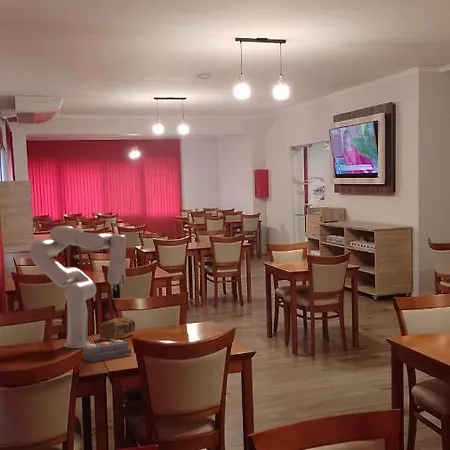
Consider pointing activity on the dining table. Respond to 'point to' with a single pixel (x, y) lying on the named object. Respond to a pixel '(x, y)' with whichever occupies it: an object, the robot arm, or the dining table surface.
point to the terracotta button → (104, 343)
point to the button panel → (105, 351)
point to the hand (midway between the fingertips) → (116, 297)
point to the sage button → (118, 341)
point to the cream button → (91, 345)
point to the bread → (116, 328)
